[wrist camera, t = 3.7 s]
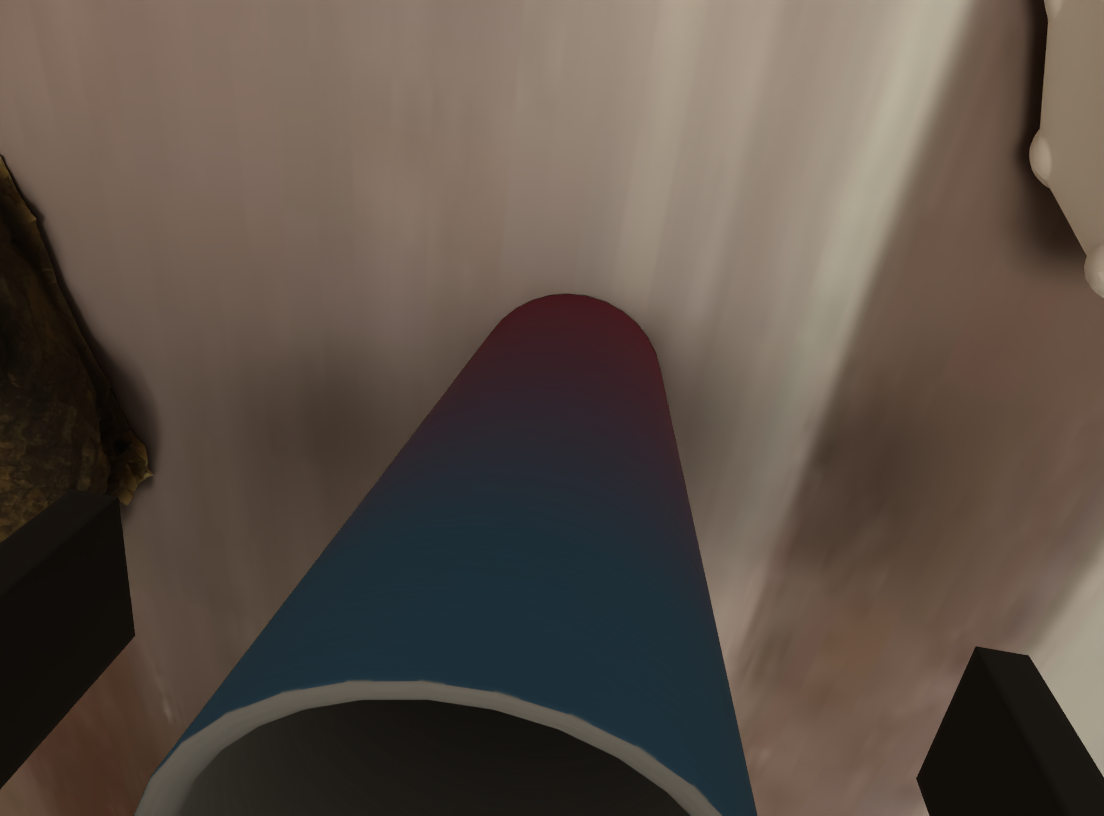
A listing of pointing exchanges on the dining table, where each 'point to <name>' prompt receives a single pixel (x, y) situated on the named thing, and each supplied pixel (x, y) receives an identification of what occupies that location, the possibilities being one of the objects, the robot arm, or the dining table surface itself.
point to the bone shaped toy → (1075, 125)
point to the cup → (494, 615)
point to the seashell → (51, 387)
